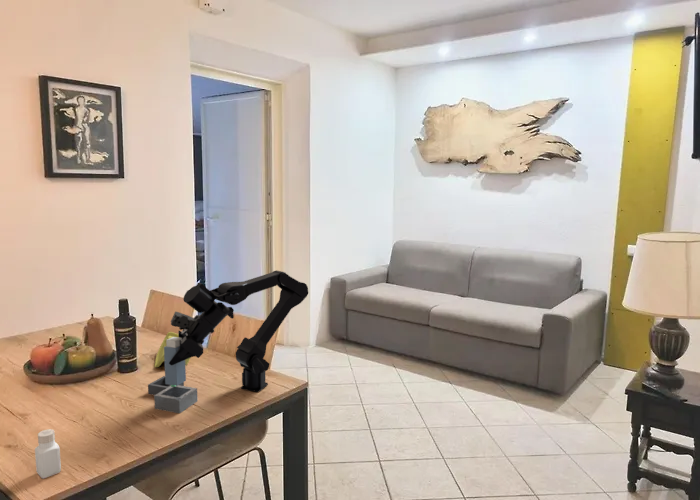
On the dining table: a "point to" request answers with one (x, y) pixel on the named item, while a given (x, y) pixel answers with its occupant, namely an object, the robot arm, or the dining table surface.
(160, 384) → the frame
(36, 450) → the white pill bottle
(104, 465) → the dining table surface
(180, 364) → the plug
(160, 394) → the socket block
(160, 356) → the plastic component
